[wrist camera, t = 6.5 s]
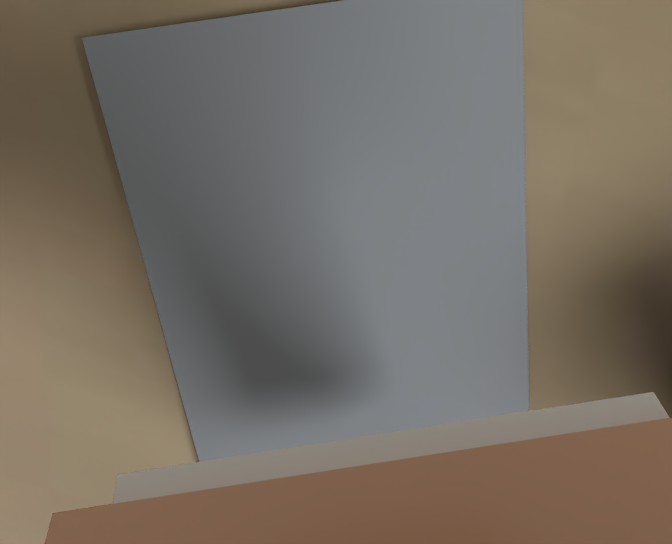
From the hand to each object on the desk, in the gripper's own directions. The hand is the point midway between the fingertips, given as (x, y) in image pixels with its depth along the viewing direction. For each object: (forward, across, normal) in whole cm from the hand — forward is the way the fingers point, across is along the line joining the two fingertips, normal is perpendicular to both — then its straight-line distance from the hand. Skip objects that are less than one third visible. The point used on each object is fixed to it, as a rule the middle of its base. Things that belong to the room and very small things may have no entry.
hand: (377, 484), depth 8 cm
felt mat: (+8, 0, -1) cm, 8 cm away
